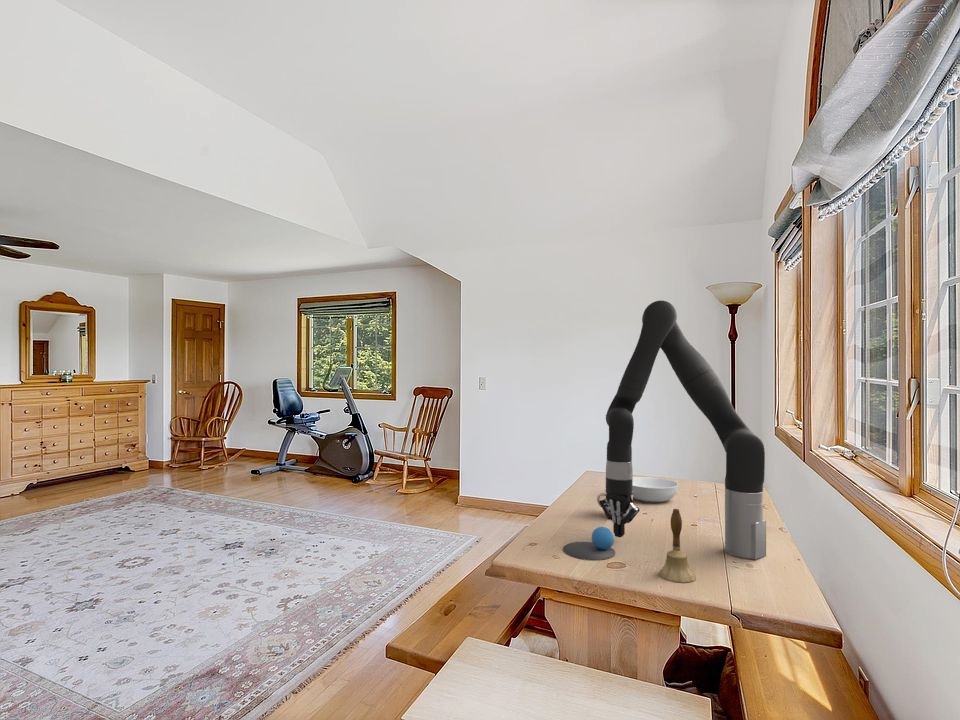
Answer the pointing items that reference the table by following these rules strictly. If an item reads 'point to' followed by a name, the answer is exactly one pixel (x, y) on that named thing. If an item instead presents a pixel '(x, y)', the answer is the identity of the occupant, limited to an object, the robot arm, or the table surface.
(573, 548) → the charcoal disc
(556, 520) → the table surface
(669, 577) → the hand bell
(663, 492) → the serving bowl
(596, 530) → the ball
